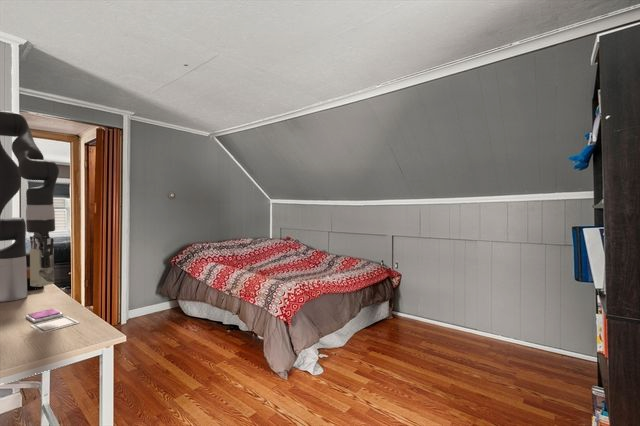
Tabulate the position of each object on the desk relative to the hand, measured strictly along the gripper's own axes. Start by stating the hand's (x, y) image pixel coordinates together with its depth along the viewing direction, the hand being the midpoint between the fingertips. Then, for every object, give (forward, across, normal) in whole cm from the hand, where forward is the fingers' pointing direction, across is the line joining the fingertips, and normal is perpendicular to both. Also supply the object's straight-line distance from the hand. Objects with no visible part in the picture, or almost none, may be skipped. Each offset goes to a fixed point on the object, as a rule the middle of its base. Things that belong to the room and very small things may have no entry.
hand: (42, 266), depth 113 cm
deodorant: (+18, -54, +10) cm, 58 cm away
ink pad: (+18, 0, 0) cm, 18 cm away
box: (+7, 0, 0) cm, 7 cm away
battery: (+18, -46, +10) cm, 50 cm away
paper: (+18, +11, 0) cm, 21 cm away
